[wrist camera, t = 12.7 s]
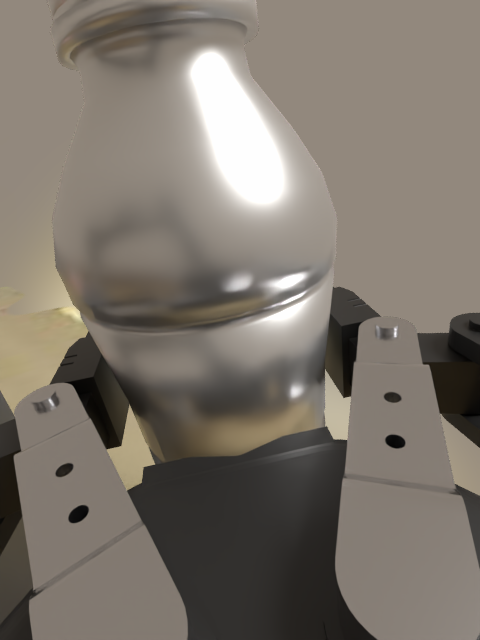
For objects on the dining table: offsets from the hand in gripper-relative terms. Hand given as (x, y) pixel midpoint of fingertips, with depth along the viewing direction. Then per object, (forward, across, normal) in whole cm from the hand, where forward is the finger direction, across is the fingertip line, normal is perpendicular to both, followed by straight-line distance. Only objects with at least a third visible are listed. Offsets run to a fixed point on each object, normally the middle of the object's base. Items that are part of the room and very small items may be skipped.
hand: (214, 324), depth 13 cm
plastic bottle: (-2, 0, +11) cm, 11 cm away
